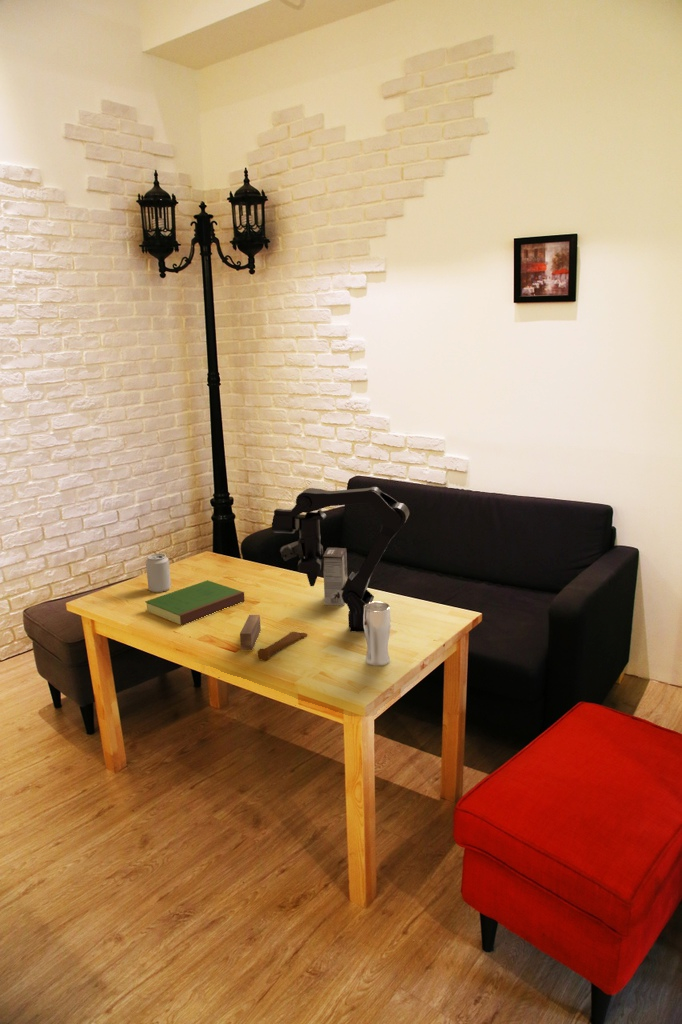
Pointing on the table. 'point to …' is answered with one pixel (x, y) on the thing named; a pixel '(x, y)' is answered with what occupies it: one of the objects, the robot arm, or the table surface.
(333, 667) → the table surface
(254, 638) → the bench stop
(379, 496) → the robot arm
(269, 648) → the primitive tool
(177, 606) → the hardcover book
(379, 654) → the beer glass
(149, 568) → the can
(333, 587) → the coffee box
